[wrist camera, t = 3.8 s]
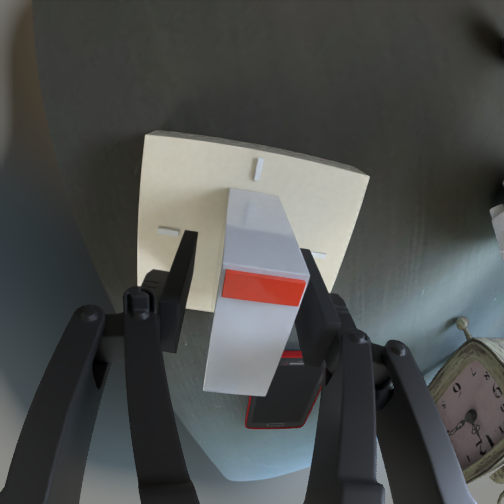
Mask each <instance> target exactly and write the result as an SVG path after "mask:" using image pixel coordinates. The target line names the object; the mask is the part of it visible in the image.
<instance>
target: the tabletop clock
mask: <svg viewBox="0 0 504 504" xmlns="http://www.w3.org/2000/svg"><path fill="white" fill-rule="evenodd" d="M468 324H469V321H468V318H467V317H465V316H461V317H459V318H458V319H457V322H456V325H457V328H458V329H460V330H463V331H464V333H465V336H466V339H467V341H466V342H465V343H464V344H463V345H461V346H460V347H459V348H458V349H457V351H456V352H455V353H454V354H453V355H452V356H451V358H450V359H449V360H448V361H447V362H446V363H445V365H444V366H443V367H442V368H441V369H440V370H439V371H438V373H437V374H436V375H435V377H434V378H433V380H432V381H431V382H430V384H429V385H428V386H427V387H428V389H429V391H430V393H431V396H432V398H433V400H434V402H435V404H436V407H437V409H438V411H439V414H440V416H441V418H442V421H443V423H444V426H445V428H446V430H447V433H448V435H449V438H450V440H451V443H452V445H453V448H454V451H455V453H456V456H457V459H458V461H459V464H460V467H461V470H462V473H463V476H464V479H465V481H466V484H468V483H470V482H472V481H474V480H476V479H478V478H480V477H482V476H484V475H486V474H487V473H489V472H491V471H493V470H494V469H496V468H498V467H499V466H501V465H502V464H504V338H477V337H472V336H471V334H470V332H469V330H468V329H467V327H468ZM490 478H491V479H492V480H493V481H494V482H496V483H500V484H503V483H504V466H503V467H501V468H500V469H499V470H497V471H496V472H495V473H493V474H492V475H491V476H490ZM503 497H504V491H503V492H502V493H501V494H500V497H499V499H498V501H497V504H501V500H502V499H503Z"/></svg>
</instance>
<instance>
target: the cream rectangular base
mask: <svg viewBox="0 0 504 504" xmlns="http://www.w3.org/2000/svg"><path fill="white" fill-rule="evenodd" d="M369 178H370V176H368V175H367V174H365V173H363V172H362V171H360V170H359V169H357V168H355V167H354V166H350V165H346V164H343V163H339V162H335V161H331V160H327V159H323V158H319V157H315V156H311V155H306V154H302V153H298V152H293V151H288V150H284V149H279V148H274V147H269V146H264V145H259V144H253V143H248V142H242V141H236V140H230V139H224V138H217V137H211V136H204V135H196V134H188V133H180V132H171V131H162V130H157V131H154V132H151V133H149V134H146V135H145V140H144V149H143V159H142V169H141V181H140V195H139V213H138V240H137V286H141V284H142V282H143V280H144V278H145V276H146V274H147V273H148V272H150V271H151V270H152V269H157V270H163V271H170V269H171V266H172V263H173V260H174V258H175V255H176V252H177V250H178V247H179V244H180V242H181V239H182V236H183V234H184V231H185V230H190V231H196V232H198V239H197V247H196V255H195V264H194V272H193V277H192V282H191V286H190V290H189V295H188V299H187V304H186V308H187V309H194V310H200V311H207V312H210V310H211V301H212V292H213V284H214V277H215V271H216V264H217V258H218V252H219V246H220V239H221V233H222V227H223V221H224V215H225V210H226V204H227V198H228V192H229V188H236V189H242V190H247V191H253V192H259V193H265V194H270V195H276V196H279V199H280V201H281V204H282V206H283V208H284V211H285V213H286V216H287V218H288V221H289V223H290V225H291V228H292V230H293V233H294V235H295V238H296V240H297V243H298V245H299V248H304V249H310V251H311V253H312V256H313V258H314V260H315V262H316V265H317V267H318V269H319V271H320V274H321V276H322V278H323V281H324V283H325V285H326V287H327V290H328V292H329V293H330V292H331V290H332V287H333V285H334V282H335V279H336V277H337V274H338V271H339V269H340V266H341V263H342V260H343V258H344V255H345V252H346V249H347V246H348V244H349V241H350V238H351V235H352V232H353V229H354V226H355V223H356V220H357V217H358V214H359V211H360V207H361V204H362V201H363V198H364V195H365V191H366V188H367V185H368V181H369Z"/></svg>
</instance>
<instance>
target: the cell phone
mask: <svg viewBox="0 0 504 504" xmlns="http://www.w3.org/2000/svg"><path fill="white" fill-rule="evenodd" d="M326 366H327V365H326V362H325V359H324V361H323V363H322V365H321V367H305V366H304V362H303V357H302V353H301V351H283V353H282V356H281V359H280V361H279V364H278V366H277V369H276V371H275V374H274V376H273V379H272V381H271V384H270V386H269V389H268V391H267V394H266V396H251V395H249V401H248V407H247V412H246V418H245V426H246V428H248V429H290V428H300V427H302V426H303V425H304V424H305V422H306V420H307V418H308V416H309V414H310V412H311V410H312V408H313V406H314V404H315V401H316V399H317V397H318V395H319V393H320V390H321V388H322V381H321V383H320V384H318V381H319V379H320V377H321V376H322V374H323V372H324V370H325V368H326ZM320 387H321V388H320Z"/></svg>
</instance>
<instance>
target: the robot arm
mask: <svg viewBox="0 0 504 504" xmlns="http://www.w3.org/2000/svg"><path fill="white" fill-rule="evenodd" d="M197 239H198V232H196V231H190V230H185V231H184V234H183V236H182V239H181V242H180V244H179V247H178V250H177V252H176V255H175V258H174V260H173V263H172V266H171V269H170V271H163V270H157V269H152V270H151V271H150V272H148V273H147V274H146V276H145V278H144V280H143V282H142V284H141V286H136V287H132V288H129V289H127V290H126V291H125V292H124V294H123V307H124V312H123V313H120V314H109V315H108V314H106V315H105V313H104V311H103V309H101V308H100V307H99V306H96V305H85V306H81V307H80V308H78V309H77V310H76V311H75V312H74V314H73V316H72V318H71V320H70V322H69V324H68V326H67V327H66V329H65V331H64V333H63V335H62V337H61V339H60V341H59V344H58V345H57V347H56V349H55V352H54V353H53V356H52V358H51V360H50V362H49V364H48V366H47V368H46V371H45V373H44V375H43V377H42V380H41V382H40V384H39V387H38V389H37V391H36V394H35V397H34V399H33V401H32V404H31V406H30V409H29V411H28V414H27V417H26V419H25V422H24V425H23V428H22V431H21V433H20V436H19V439H18V442H17V445H16V449H15V452H14V455H13V458H12V462H11V465H10V468H9V472H8V476H7V480H6V484H5V487H4V488H3V490H2V491H1V492H0V504H79V499H80V493H81V487H82V481H83V476H84V471H85V465H86V460H87V456H88V451H89V446H90V441H91V437H92V433H93V429H94V425H95V421H96V417H97V412H98V409H99V405H100V401H101V397H102V394H103V390H104V387H105V383H106V380H107V376H108V373H109V369H110V366H111V363H113V362H125V374H126V389H127V402H128V412H129V422H130V430H131V438H132V446H133V452H134V459H135V465H136V471H137V477H138V484H139V485H138V488H139V494H140V499H141V504H200V503H199V500H198V497H197V494H196V491H195V488H194V485H193V483H192V481H191V480H190V477H189V474H188V471H187V467H186V463H185V460H184V456H183V452H182V448H181V444H180V440H179V435H178V432H177V427H176V422H175V418H174V413H173V408H172V404H171V399H170V394H169V388H168V383H167V378H166V372H165V366H164V360H163V354H162V351H164V352H170V353H176V352H177V347H178V342H179V337H180V332H181V327H182V323H183V318H184V313H185V309H186V304H187V299H188V295H189V290H190V286H191V282H192V277H193V272H194V264H195V255H196V247H197ZM300 250H301V253H302V255H303V258H304V261H305V263H306V266H307V268H308V271H309V273H310V278H309V281H308V284H307V287H306V290H305V293H304V295H303V298H302V301H301V304H300V307H299V310H298V313H297V315H296V318H295V321H294V322H295V327H296V331H297V335H298V340H299V344H300V348H301V353H302V357H303V362H304V366H305V367H321V365H322V363H323V361H324V359H325V362H326V365H327V366H326V368H325V370H324V372H323V374H322V376H321V377H320V379H319V381H318V384H320V383H321V381H322V389H321V399H320V407H319V415H318V423H317V430H316V437H315V444H314V451H313V457H312V463H311V470H310V476H309V481H308V487H307V492H306V497H305V501H304V503H303V504H385V489H384V487H383V485H382V484H379V483H378V482H377V481H376V459H377V454H376V453H377V452H376V451H377V449H376V448H377V442H376V435H377V438H378V442H379V446H380V449H381V453H382V457H383V461H384V464H385V469H386V473H387V477H388V481H389V486H390V490H391V494H392V499H393V503H394V504H477V503H476V502H475V500H474V499H473V497H472V496H471V494H470V493H469V491H468V488H467V484H466V481H465V479H464V476H463V473H462V470H461V467H460V464H459V461H458V459H457V456H456V453H455V451H454V448H453V445H452V443H451V440H450V438H449V435H448V433H447V430H446V428H445V426H444V423H443V421H442V418H441V416H440V414H439V411H438V409H437V407H436V404H435V402H434V400H433V398H432V396H431V393H430V391H429V389H428V387H427V385H426V382H425V380H424V378H423V376H422V374H421V372H420V370H419V368H418V366H417V364H416V362H415V360H414V358H413V356H412V354H411V352H410V350H409V348H408V347H407V346H406V345H405V344H404V343H402V342H400V341H397V340H389V341H388V342H387V343H386V345H385V346H380V345H377V344H373V343H371V341H370V338H369V337H368V336H367V334H366V333H364V332H363V331H361V330H358V329H357V328H356V326H355V324H354V321H353V319H352V317H351V315H350V313H349V311H348V309H347V306H346V304H345V302H344V300H343V299H342V298H341V297H340V296H339V295H338V294H333V293H329V292H328V290H327V287H326V285H325V283H324V281H323V278H322V276H321V274H320V271H319V269H318V267H317V265H316V262H315V260H314V258H313V256H312V253H311V251H310V249H304V248H300ZM391 383H393V386H394V388H393V389H392V387H391Z"/></svg>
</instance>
